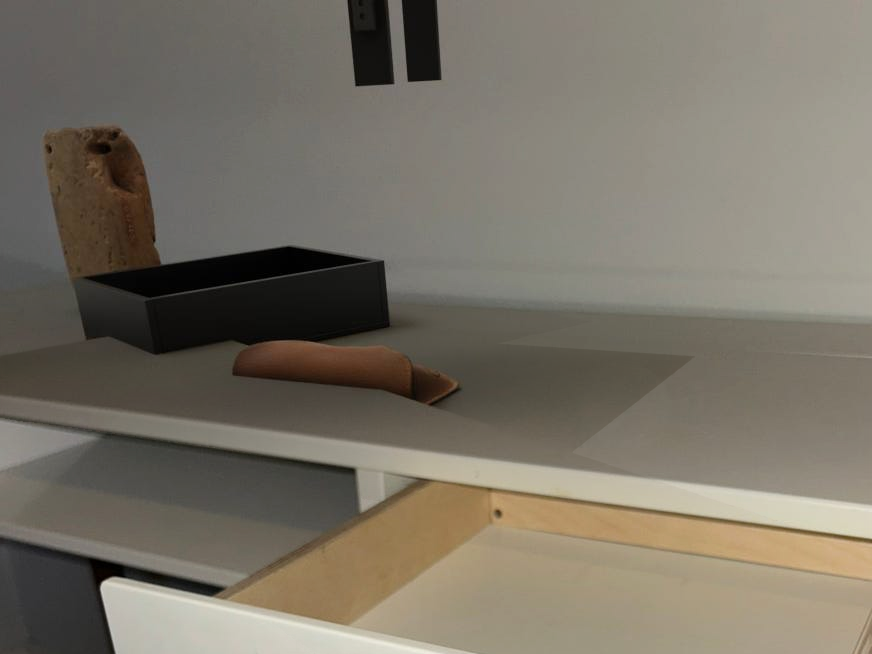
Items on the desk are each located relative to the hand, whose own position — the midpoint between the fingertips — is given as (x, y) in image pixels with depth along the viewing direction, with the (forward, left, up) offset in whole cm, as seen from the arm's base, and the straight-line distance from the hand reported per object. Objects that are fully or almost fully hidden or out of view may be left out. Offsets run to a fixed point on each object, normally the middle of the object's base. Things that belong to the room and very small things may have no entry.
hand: (401, 83), depth 82 cm
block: (-6, +54, -23) cm, 59 cm away
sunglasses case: (-7, +1, -23) cm, 24 cm away
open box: (-3, +30, -23) cm, 38 cm away
